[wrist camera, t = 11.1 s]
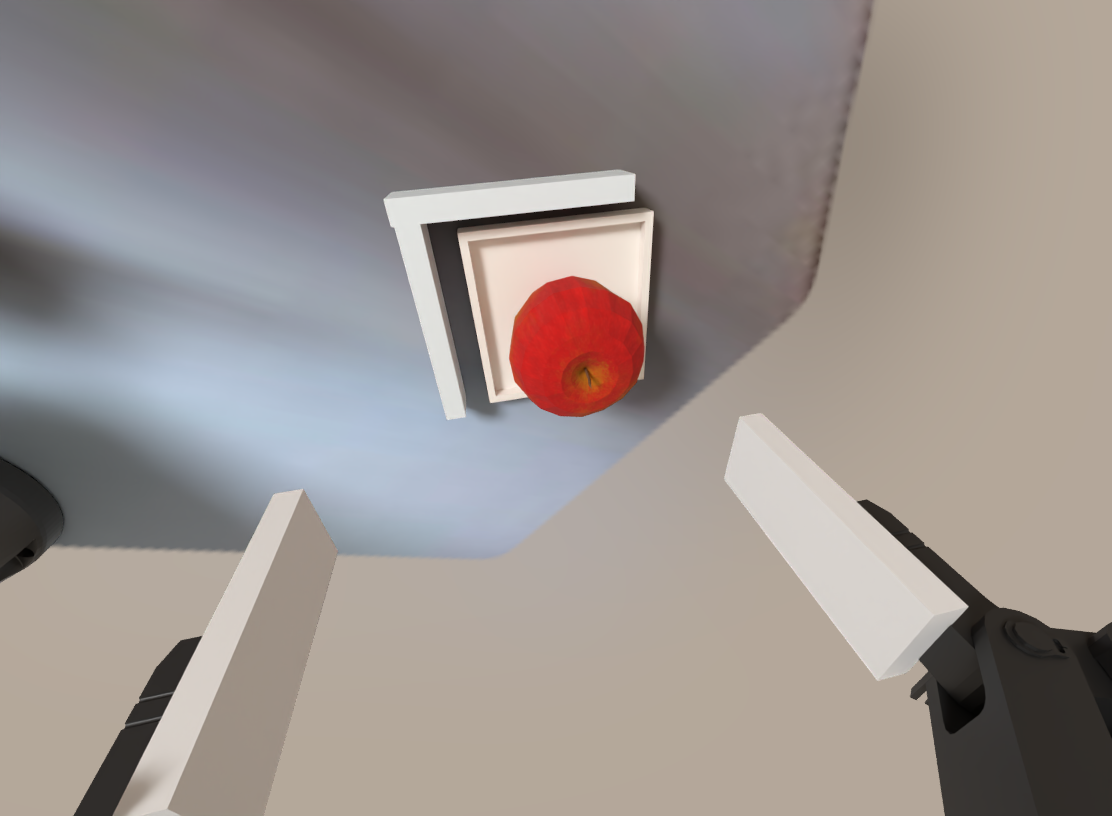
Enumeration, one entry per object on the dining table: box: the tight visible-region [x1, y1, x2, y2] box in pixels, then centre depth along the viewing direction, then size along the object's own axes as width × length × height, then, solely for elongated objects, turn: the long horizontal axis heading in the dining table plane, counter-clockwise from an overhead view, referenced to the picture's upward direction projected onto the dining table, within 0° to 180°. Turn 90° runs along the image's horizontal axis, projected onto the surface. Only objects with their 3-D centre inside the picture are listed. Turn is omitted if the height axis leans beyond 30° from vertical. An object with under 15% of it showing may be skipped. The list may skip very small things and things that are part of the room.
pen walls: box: [383, 170, 635, 420], centre depth 32 cm, size 16×17×4 cm
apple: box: [509, 276, 645, 417], centre depth 29 cm, size 9×9×12 cm
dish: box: [457, 208, 654, 403], centre depth 34 cm, size 14×14×2 cm
